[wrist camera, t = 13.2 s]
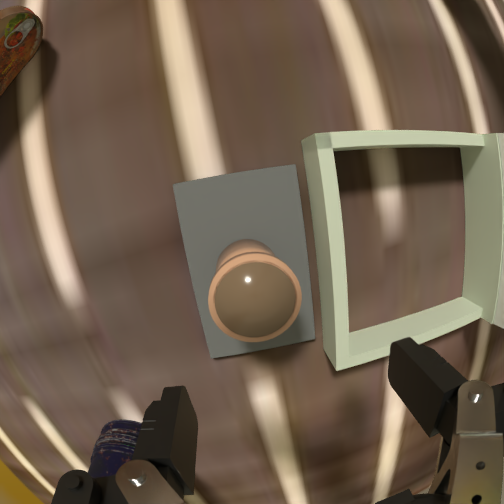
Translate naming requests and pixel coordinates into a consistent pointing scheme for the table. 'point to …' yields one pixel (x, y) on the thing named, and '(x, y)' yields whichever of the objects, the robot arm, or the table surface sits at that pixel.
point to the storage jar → (114, 447)
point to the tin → (17, 41)
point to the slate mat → (245, 227)
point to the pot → (253, 292)
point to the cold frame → (476, 241)
